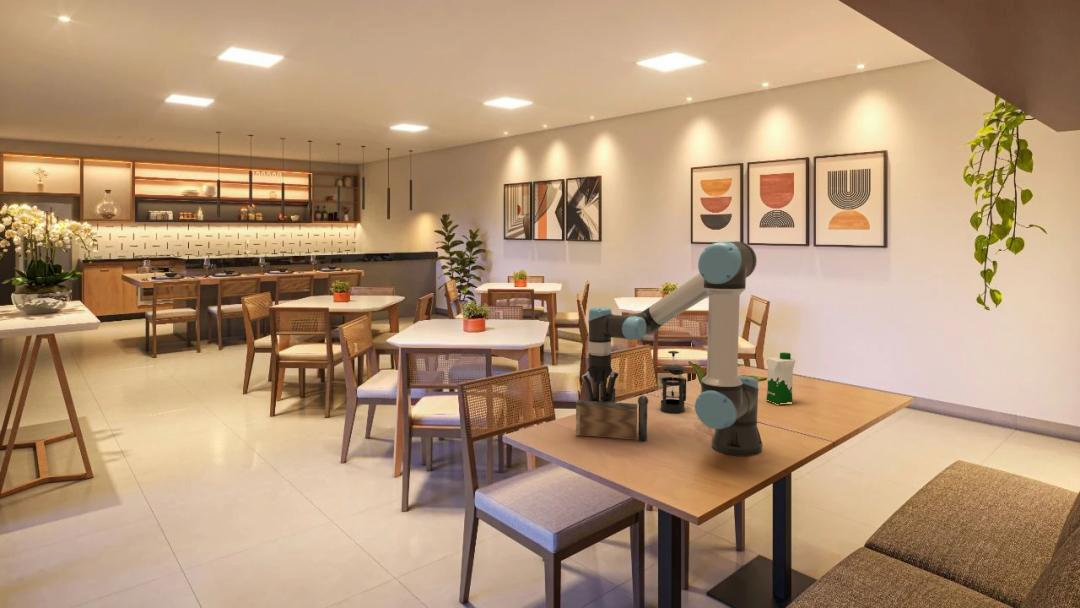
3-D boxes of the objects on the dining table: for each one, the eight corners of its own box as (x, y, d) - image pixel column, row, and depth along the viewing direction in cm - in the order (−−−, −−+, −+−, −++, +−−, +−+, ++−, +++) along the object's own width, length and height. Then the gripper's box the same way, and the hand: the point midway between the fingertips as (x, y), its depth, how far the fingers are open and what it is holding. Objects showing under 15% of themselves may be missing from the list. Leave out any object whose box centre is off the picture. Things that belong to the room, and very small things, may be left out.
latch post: (615, 420, 226) (615, 388, 224) (607, 421, 225) (607, 389, 223) (612, 419, 227) (612, 387, 226) (605, 420, 226) (605, 388, 225)
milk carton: (796, 404, 246) (797, 355, 244) (776, 406, 243) (778, 356, 241) (781, 399, 254) (782, 351, 252) (762, 401, 252) (764, 352, 250)
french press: (671, 415, 232) (672, 354, 230) (653, 409, 240) (654, 351, 238) (693, 410, 239) (694, 351, 236) (675, 405, 247) (676, 347, 244)
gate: (636, 437, 205) (637, 403, 204) (636, 439, 203) (636, 405, 202) (577, 432, 210) (577, 400, 209) (575, 434, 208) (575, 402, 207)
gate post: (649, 441, 202) (650, 396, 201) (640, 442, 201) (641, 397, 200) (644, 438, 206) (645, 394, 204) (635, 439, 205) (635, 395, 203)
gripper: (612, 350, 214) (612, 417, 217) (577, 352, 210) (577, 420, 212) (622, 354, 207) (622, 423, 210) (586, 356, 203) (586, 427, 205)
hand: (599, 421), depth 211 cm, fingers closed
